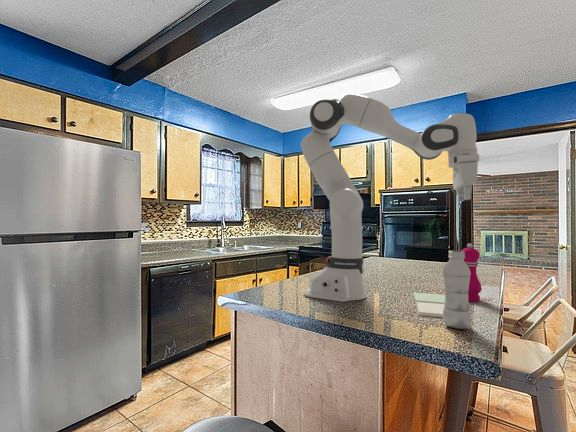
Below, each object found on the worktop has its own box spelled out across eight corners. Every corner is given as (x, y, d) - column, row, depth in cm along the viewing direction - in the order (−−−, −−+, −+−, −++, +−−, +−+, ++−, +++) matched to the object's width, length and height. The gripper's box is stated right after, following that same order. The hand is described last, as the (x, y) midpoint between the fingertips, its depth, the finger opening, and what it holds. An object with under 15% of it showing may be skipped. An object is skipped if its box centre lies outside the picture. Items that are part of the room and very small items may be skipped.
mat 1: (415, 303, 106) (415, 300, 106) (413, 295, 117) (413, 292, 117) (459, 307, 102) (458, 303, 102) (452, 298, 113) (452, 295, 113)
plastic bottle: (459, 333, 78) (459, 252, 78) (436, 325, 84) (437, 250, 84) (477, 330, 80) (477, 252, 81) (453, 322, 87) (454, 249, 87)
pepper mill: (485, 303, 107) (485, 244, 107) (462, 301, 108) (462, 243, 109) (476, 297, 114) (477, 242, 114) (455, 296, 116) (455, 242, 116)
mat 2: (419, 315, 92) (419, 311, 92) (416, 304, 104) (416, 301, 104) (468, 320, 88) (468, 316, 88) (460, 308, 100) (460, 305, 100)
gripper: (447, 166, 119) (449, 202, 119) (458, 156, 100) (459, 199, 100) (466, 165, 117) (468, 201, 117) (480, 154, 98) (482, 198, 98)
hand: (464, 200), depth 108 cm, fingers open, 8 cm apart
